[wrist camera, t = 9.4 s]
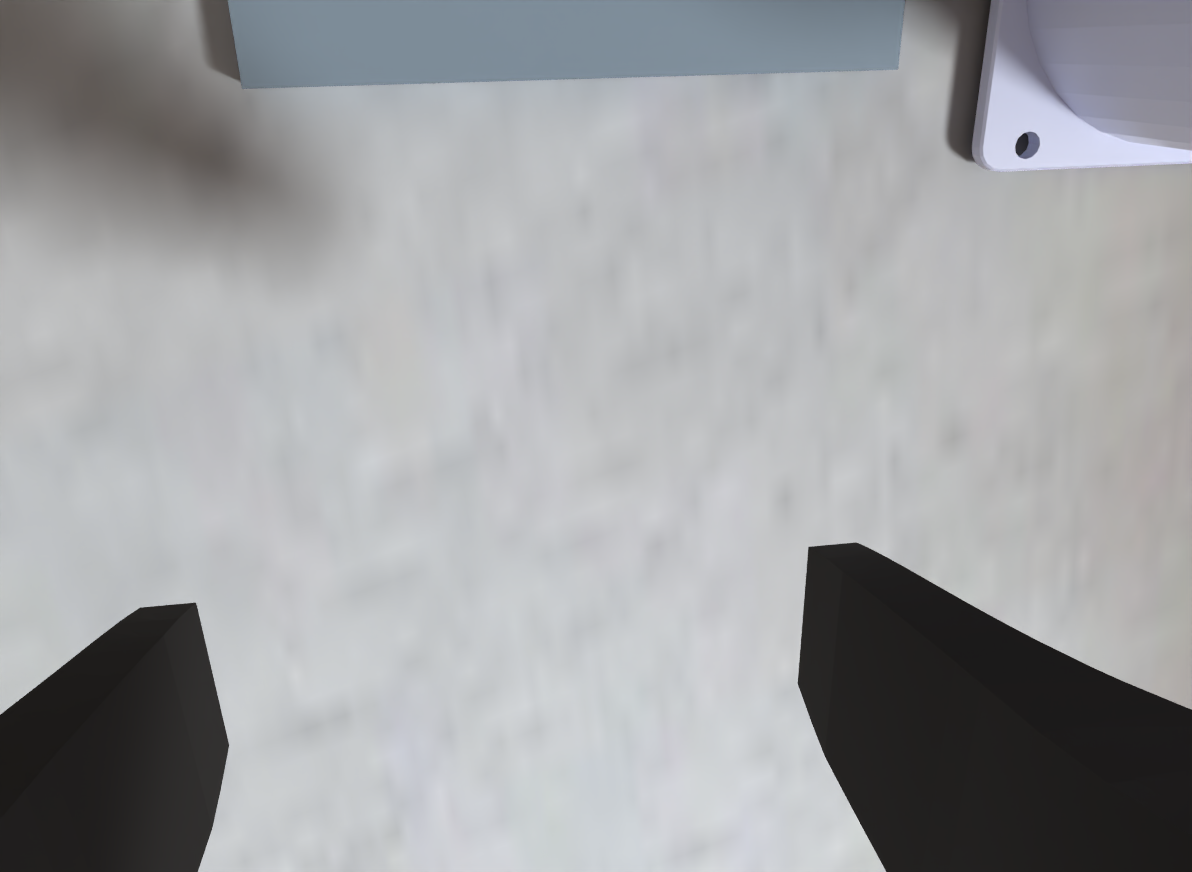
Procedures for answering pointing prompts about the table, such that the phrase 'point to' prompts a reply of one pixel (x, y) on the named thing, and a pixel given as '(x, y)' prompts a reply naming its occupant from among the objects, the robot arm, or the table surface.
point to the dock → (554, 39)
